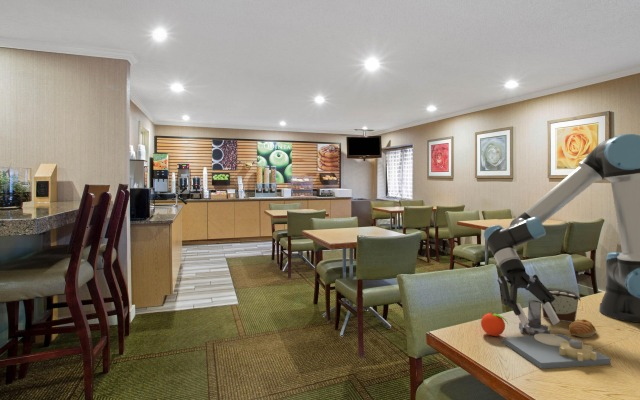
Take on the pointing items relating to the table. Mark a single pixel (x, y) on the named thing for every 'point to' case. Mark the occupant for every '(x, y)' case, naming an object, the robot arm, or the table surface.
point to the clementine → (493, 324)
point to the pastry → (582, 328)
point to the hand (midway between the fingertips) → (541, 323)
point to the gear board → (555, 351)
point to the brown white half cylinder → (563, 304)
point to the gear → (534, 320)
